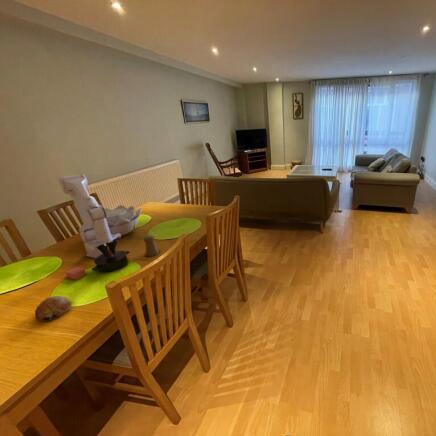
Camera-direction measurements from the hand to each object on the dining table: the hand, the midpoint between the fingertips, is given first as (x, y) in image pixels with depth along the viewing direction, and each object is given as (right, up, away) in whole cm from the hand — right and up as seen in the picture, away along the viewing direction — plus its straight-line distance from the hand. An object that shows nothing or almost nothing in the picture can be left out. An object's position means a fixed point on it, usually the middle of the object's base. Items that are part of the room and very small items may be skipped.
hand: (110, 255), depth 121 cm
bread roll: (0, -18, -28) cm, 33 cm away
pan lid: (0, -1, 0) cm, 1 cm away
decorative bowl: (-22, +8, +36) cm, 43 cm away
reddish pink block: (-11, -9, -6) cm, 16 cm away
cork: (+14, -1, +14) cm, 19 cm away
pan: (0, -5, +2) cm, 6 cm away
